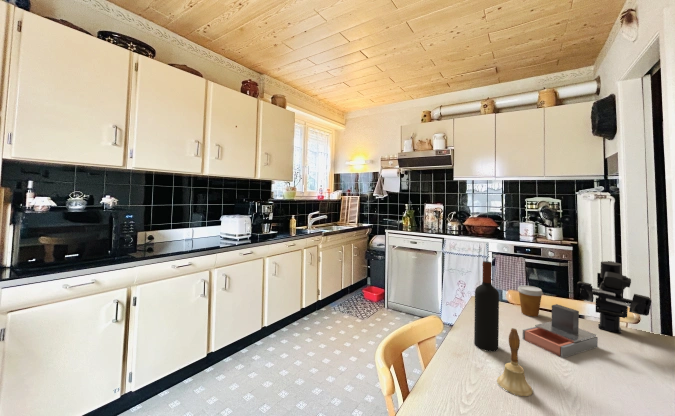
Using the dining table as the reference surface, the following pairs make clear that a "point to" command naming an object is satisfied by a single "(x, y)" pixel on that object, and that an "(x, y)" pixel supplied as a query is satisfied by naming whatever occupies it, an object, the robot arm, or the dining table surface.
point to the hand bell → (514, 370)
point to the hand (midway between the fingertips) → (610, 305)
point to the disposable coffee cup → (530, 300)
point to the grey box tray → (557, 342)
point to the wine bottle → (486, 312)
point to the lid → (565, 324)
